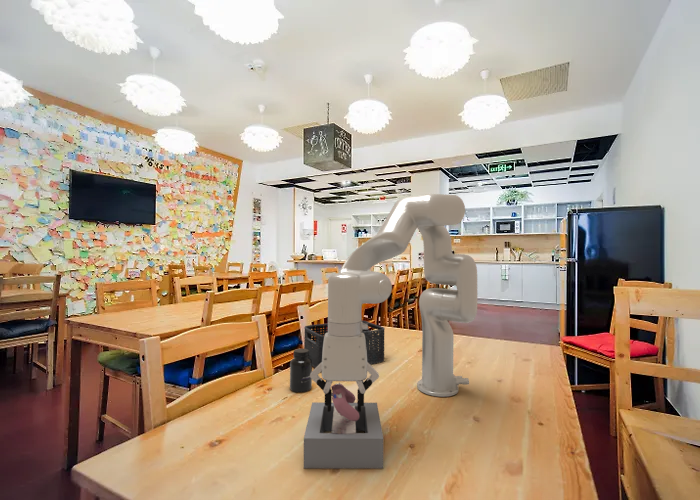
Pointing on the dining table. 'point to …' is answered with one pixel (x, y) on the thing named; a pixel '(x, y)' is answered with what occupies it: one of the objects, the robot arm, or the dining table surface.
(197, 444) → the dining table surface
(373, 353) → the storage bin
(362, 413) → the grey square box
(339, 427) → the beige insert in tray
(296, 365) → the supplement bottle
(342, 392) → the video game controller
